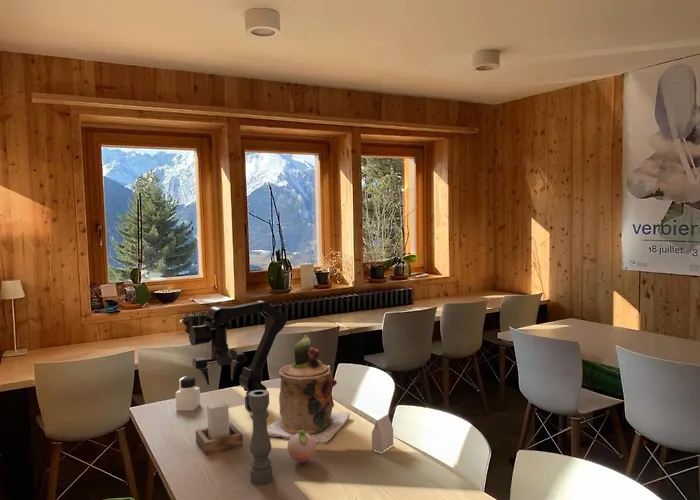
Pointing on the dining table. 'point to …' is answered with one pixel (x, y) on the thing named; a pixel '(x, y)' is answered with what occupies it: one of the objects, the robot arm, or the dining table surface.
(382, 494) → the dining table surface
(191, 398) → the medicine bottle
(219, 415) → the skincare box
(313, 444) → the decorative fruit
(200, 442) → the walnut holder
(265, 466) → the candle holder
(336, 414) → the cookie jar
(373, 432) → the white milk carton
